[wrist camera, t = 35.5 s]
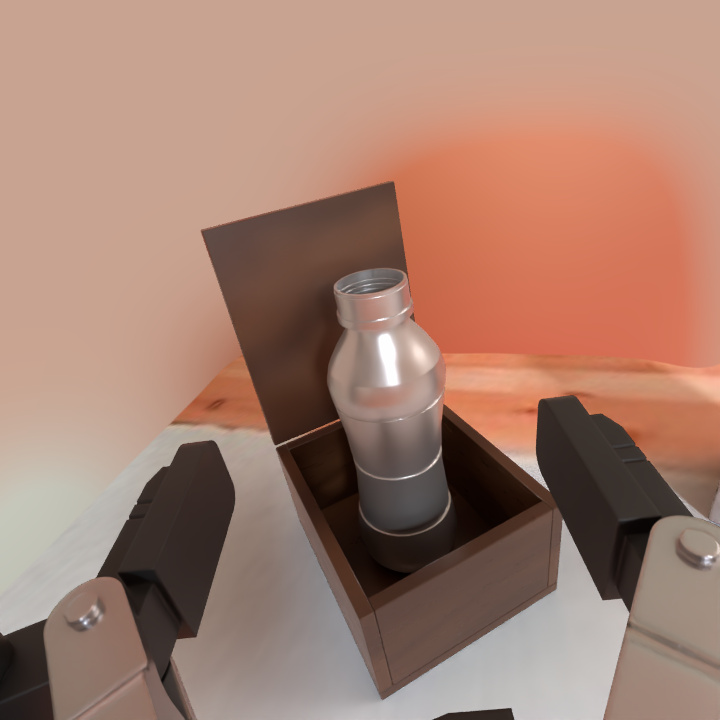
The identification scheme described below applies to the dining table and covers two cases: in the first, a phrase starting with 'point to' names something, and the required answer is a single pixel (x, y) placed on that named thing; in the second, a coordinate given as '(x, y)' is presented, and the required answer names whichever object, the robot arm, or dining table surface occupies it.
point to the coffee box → (715, 507)
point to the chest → (440, 578)
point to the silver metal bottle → (392, 420)
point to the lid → (300, 293)
